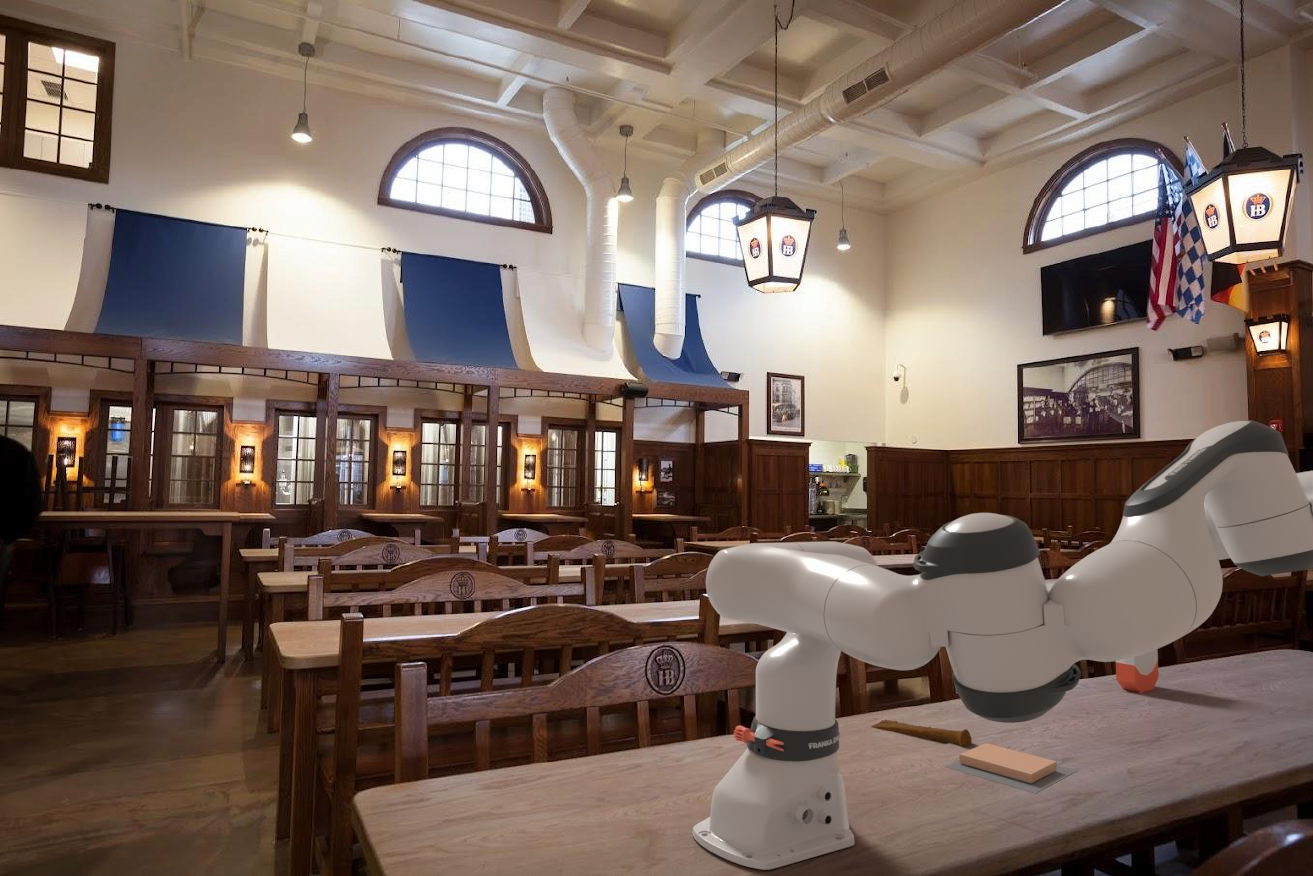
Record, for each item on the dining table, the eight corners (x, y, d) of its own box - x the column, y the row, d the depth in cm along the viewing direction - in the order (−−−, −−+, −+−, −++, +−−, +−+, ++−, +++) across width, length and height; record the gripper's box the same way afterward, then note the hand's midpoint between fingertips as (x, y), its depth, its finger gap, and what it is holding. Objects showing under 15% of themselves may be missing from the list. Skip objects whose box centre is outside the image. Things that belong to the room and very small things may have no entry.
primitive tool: (869, 729, 155) (869, 710, 155) (884, 723, 158) (884, 705, 159) (965, 753, 141) (964, 733, 141) (978, 746, 144) (978, 727, 145)
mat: (1035, 796, 120) (1035, 793, 120) (944, 769, 131) (944, 766, 131) (1077, 773, 130) (1077, 770, 130) (989, 749, 141) (989, 747, 141)
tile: (1031, 774, 123) (959, 754, 133) (1031, 784, 123) (959, 764, 133) (1056, 761, 129) (986, 743, 138) (1056, 771, 129) (986, 752, 138)
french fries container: (1114, 690, 182) (1112, 611, 184) (1138, 683, 188) (1135, 607, 189) (1135, 694, 179) (1132, 614, 180) (1159, 687, 185) (1156, 610, 186)
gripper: (1198, 564, 99) (1093, 582, 110) (1260, 533, 111) (1160, 552, 122) (1178, 516, 101) (1076, 539, 112) (1241, 490, 112) (1143, 513, 123)
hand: (1120, 545), depth 117 cm, fingers closed
